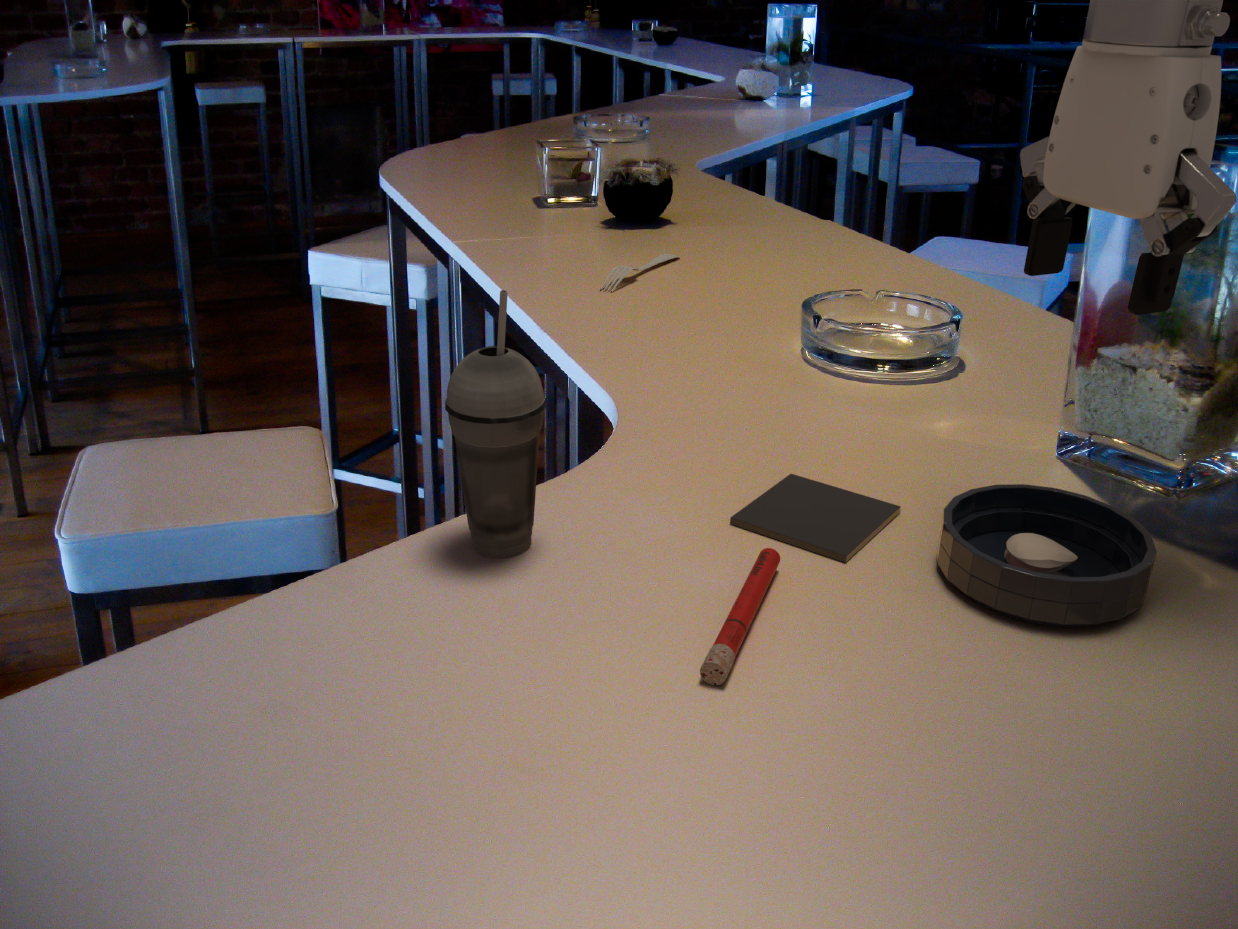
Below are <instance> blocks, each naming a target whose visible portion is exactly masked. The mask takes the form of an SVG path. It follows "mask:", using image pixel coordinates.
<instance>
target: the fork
mask: <svg viewBox="0 0 1238 929" xmlns="http://www.w3.org/2000/svg"><path fill="white" fill-rule="evenodd" d="M679 258H681V256H680V255H677V254H671V253H661V254H659V255H658V256H656V257H655V258H652V260H650V261H649V262H647V263H646V264H644V265H642V266H640V267H634V266H628V265H622V264H618V265H615V266H614V267H613V269H612V270H611V271H610V272H609V274H608V275H607V277H606V278H605V280H604V282H603V283H602V285H601V287H600V288H599V290H600V289H601V290H602V289H603V288H604V289H603V290H605V289H606V290H605V291H606V292H607V291H608V290H609V291H610V292H611V291H612V292H614V290H615V289H616V288H617V287H618V286H619V284H620V283H621V282H622V281H623V280H624V279H625V277H626V276H627V275H628V274H629V273H631V271H635V272H642V271H645V270H648V269H649V268H651V267H653V266H656V265H659V264H662V263H665V262H667V261H670V260H674V259H679ZM605 285H606V286H605ZM604 286H605V287H604ZM611 288H612V289H611ZM609 291H608V292H609Z"/></svg>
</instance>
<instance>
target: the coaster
mask: <svg viewBox="0 0 1238 929" xmlns="http://www.w3.org/2000/svg"><path fill="white" fill-rule="evenodd" d="M900 513H901V505H898V504H895V503H891V502H887V501H884V500H881V499H878V498H874V497H871V496H868V495H864V494H861V493H857V492H854V491H850V490H847V489H844V488H841V487H837V486H834V485H831V484H827V483H824V482H821V481H818V480H814V479H812V478H811V479H810V478H807V477H804V476H800V475H797V474H794V473H789V474H788V475H787V476H785V477H783V478H782V479H781V480H780V481H778V482H777V483H775V484H774V485H773V486H772V487H770V488H768V489H767V490H766V491H764V492H763V493H762V494H761V495H759V496H758V497H756V498H755V499H754V500H752V501H751V502H749V503H748V504H746V506H744V507H742V508H741V509H740V510H738V511H737V512H736V513H734V514H733V515H732V516H730V517H729V518H730V519H729V524H730V525H732V526H735V527H738V528H741V529H744V530H748V531H750V532H753V533H757V534H759V535H762V536H765V537H767V538H771V539H774V540H777V541H780V542H783V543H785V544H789V545H791V546H795V547H798V548H801V549H803V550H807V551H810V552H812V553H815V554H818V555H821V556H824V557H826V558H830V559H833V560H836V561H838V562H842V563H845V564H846V563H847V562H849V561H850V560H851V558H852V557H854V556H855V555H856V554H857V553H858V552H859V551H860V550H862V548H863V547H864V546H865V545H867V544H868V543H869V542H870V541H871V540H872V539H873V538H874V537H875V536H876V535H877V534H878V533H880V532H881V531H882V530H883V529H884V528H885V527H886V526H887V525H888V524H889V523H890V522H891V521H892V520H894V519H895V518H896V517H897V516H898V515H899V514H900Z"/></svg>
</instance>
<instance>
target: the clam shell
mask: <svg viewBox="0 0 1238 929" xmlns="http://www.w3.org/2000/svg"><path fill="white" fill-rule="evenodd" d="M1006 544H1007V549H1006V550H1005V559H1006V561H1007V562H1008V563H1009V564H1010V565H1013V566H1016V567H1020V568H1023V569H1027V570H1030V571H1034V572H1037V573H1044V574H1051V573H1054V572H1056V571H1058V570H1060V569H1062V568H1064V567H1066V566H1067V565H1069V564H1070V563H1072V562H1073V561H1075V560H1077V558H1078V557H1077V556H1076V555H1075V554H1074V553H1072V552H1071V551H1069V550H1068V549H1066V548H1065V547H1063V546H1062V545H1060V544H1058V543H1057V542H1055V541H1053V540H1051V539H1049V538H1046V537H1044V536H1041V535H1037V534H1033V533H1020V534H1016V535H1013V536H1012V537H1010V538H1009V539H1008V541H1007V542H1006Z"/></svg>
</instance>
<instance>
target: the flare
mask: <svg viewBox="0 0 1238 929" xmlns="http://www.w3.org/2000/svg"><path fill="white" fill-rule="evenodd" d="M780 563H781V555H780V553H779V552H778V551H777V550H776V549H774V548H772V547H766V548H763V549H762V550H760V552H759V553H758V556H757V558H756V560H755V561H754V564H753V566H752V568H751V569H750V572H749V574H748V576H747V578H746V580H745V582H744V583H743V585H742V588H741V589H740V592H739V593H738V595H737V597H736V599H735V601H734V602H733V604H732V607H731V609H730V611H729V613H728V615H727V617H726V619H725V621H724V623H723V624H722V627H721V629H720V630H719V633H718V635H717V637H716V638H715V640H714V643H713V644H712V646H711V648H710V649H709V651H708V653H707V655H706V656H705V658H704V659H703V660H704V661H703V662H702V664H701V666H700V668H699V675H700V677H701V679H702V681H704V682H705V683H706V684H708V685H710V686H720V685H722V684H724V683H725V682H726V680H727V677H728V675H729V673H730V672H731V669H732V667H733V666H734V662H735V661H736V656H737V654H738V652H739V650H740V648H741V645H742V644H743V642H744V639H745V637H746V635H747V633H748V630H749V629H750V628H751V627H750V626H751V624H752V622H753V619H754V618H755V615H756V614H757V612H758V610H759V608H760V606H761V604H762V601H763V599H764V596H765V594H766V592H767V590H768V588H769V586H770V584H771V581H772V580H773V578H774V575H775V573H776V571H777V569H778V567H779V565H780Z"/></svg>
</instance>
